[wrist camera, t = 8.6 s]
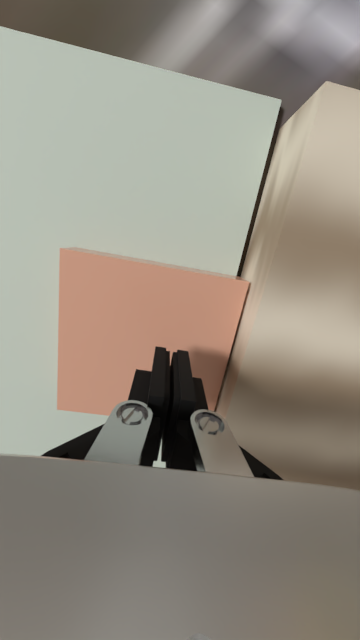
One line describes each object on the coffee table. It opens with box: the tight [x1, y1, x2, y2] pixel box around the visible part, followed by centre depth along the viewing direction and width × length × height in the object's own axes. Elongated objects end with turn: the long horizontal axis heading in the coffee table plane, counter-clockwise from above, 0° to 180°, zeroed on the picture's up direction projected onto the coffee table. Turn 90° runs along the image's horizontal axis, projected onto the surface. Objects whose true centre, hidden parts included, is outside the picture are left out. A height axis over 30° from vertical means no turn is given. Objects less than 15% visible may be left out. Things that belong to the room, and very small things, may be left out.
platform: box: [214, 81, 360, 491], centre depth 15 cm, size 26×16×4 cm, turn 170°
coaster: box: [57, 247, 249, 416], centre depth 15 cm, size 10×10×2 cm
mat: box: [0, 26, 282, 468], centre depth 16 cm, size 28×17×1 cm, turn 170°
